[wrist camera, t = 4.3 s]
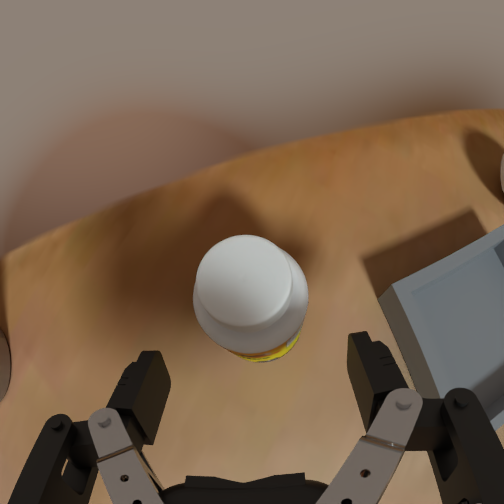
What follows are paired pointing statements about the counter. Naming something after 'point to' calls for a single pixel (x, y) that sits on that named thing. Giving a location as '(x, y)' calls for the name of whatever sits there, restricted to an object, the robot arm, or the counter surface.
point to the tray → (454, 324)
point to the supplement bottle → (250, 298)
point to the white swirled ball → (502, 173)
